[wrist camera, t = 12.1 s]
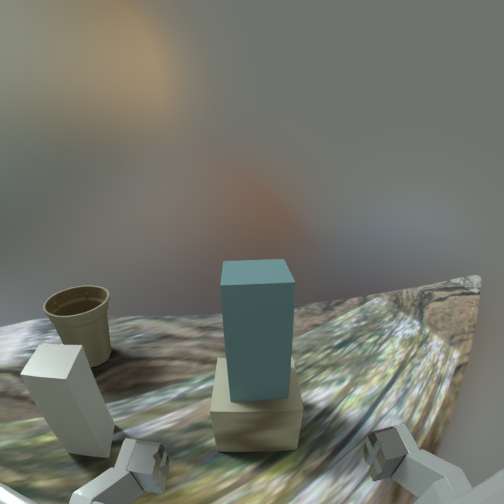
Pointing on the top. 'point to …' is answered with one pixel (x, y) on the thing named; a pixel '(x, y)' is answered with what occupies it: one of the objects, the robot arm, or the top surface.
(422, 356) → the top surface
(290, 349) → the teal block
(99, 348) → the flower pot
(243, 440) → the birch block
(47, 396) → the white block
